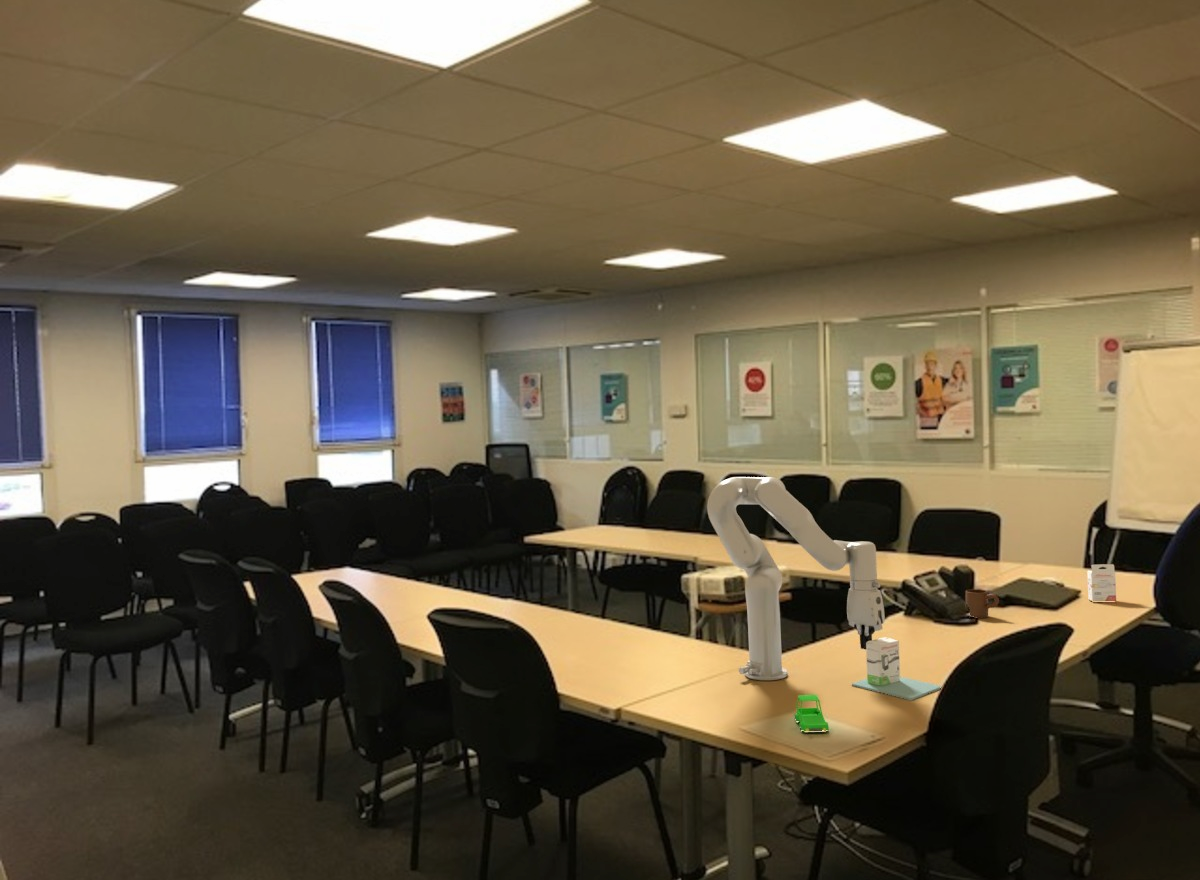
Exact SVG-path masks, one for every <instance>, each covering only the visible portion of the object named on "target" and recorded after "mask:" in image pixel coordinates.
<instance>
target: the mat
mask: <svg viewBox="0 0 1200 880" xmlns="http://www.w3.org/2000/svg"><path fill="white" fill-rule="evenodd" d="M852 685H853V686H852ZM851 686H852V687H855V686H857V687H856V688H859V687H860V688H859V689H863V688H865V689H864V690H867V689H868V690H867V691H871V690H872V691H871V692H875V691H877V692H876V693H879V692H881V693H880V694H883V693H885V694H884V695H887V694H888V695H887V696H891V695H892V697H895V696H896V698H899V697H900V698H899V699H903V698H904V700H908V701H914V700H916V699H919V698H921V697H924V696H926V695H929V694H931V692H932V693H934V692H937V691H938V690H941V689H940V687H941V686H942V685H940V684H935V683H930V682H926V681H921V680H917V679H912V678H908V677H904V676H900V681H897V682H894V683H890V684H886V685H883V686H878V685H875V684H871V683H868V680H867V678H863V679H862V680H859V681H856V682H853V683H851ZM928 693H929V694H928Z"/></svg>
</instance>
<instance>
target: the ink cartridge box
mask: <svg viewBox="0 0 1200 880" xmlns="http://www.w3.org/2000/svg"><path fill="white" fill-rule="evenodd" d="M1090 567H1091V570H1087V573H1086V575H1087V576H1086V577H1087V596H1088V599H1090V600H1092V601H1116V602H1117V590H1116V588H1117V587H1116V586H1117V585H1116V584H1117V581H1116V572H1115V565H1114V564H1113V563H1111V564H1109V563H1108V564H1104V563H1103V564H1101V563H1100V564H1091V566H1090ZM1088 599H1087V600H1088Z"/></svg>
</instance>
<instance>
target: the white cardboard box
mask: <svg viewBox="0 0 1200 880" xmlns="http://www.w3.org/2000/svg"><path fill="white" fill-rule="evenodd" d="M865 652H866V674H867V678H866V679H867V680H868V683H871V684H875V685H878V686H883V685H886V684H890V683H894V682H897V681H900V677H901V671H900V670H901V669H900V668H901V667H900V666H901V665H900V664H901V663H900V640H897V639H894V638H890V637H886V636H885V637H880V638H879V637H878V638H875V639H872V640H871V641H867V642H866V650H865Z"/></svg>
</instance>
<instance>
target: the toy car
mask: <svg viewBox="0 0 1200 880" xmlns="http://www.w3.org/2000/svg"><path fill="white" fill-rule="evenodd" d="M796 702H797V703H796V713H794V717H795V718H794V720H795V719H796V721H799V722H800V723H799V722H798V728H799V727H801V730H804V731H822V730H824V731H826V730H829V731H830V727H829V723H828V722H826V720H825V717H824V715H823V712H822V706H821V702H820V699H819V696H818V695H817V694H802V695H799V694H798V695H797V701H796ZM803 702H815V704H816V705H815V706H816V707H803ZM799 703H800V707H799ZM804 731H803V732H804Z"/></svg>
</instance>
